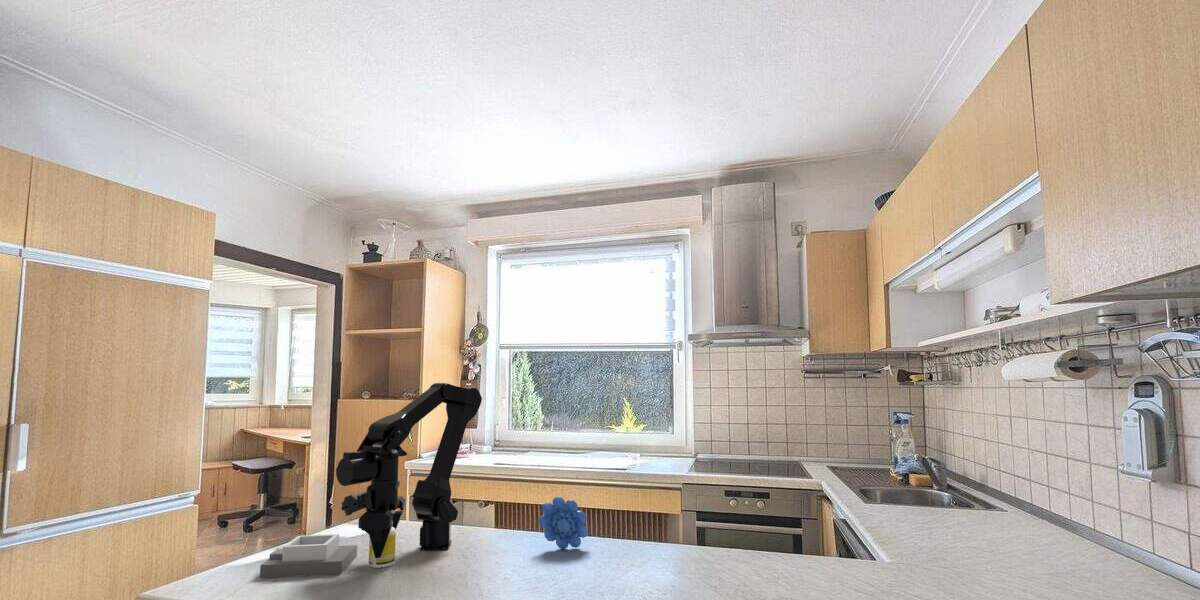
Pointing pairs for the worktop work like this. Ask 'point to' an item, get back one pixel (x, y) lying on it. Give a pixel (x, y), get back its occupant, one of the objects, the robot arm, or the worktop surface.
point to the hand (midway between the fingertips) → (382, 552)
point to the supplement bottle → (384, 552)
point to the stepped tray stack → (309, 557)
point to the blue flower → (563, 523)
